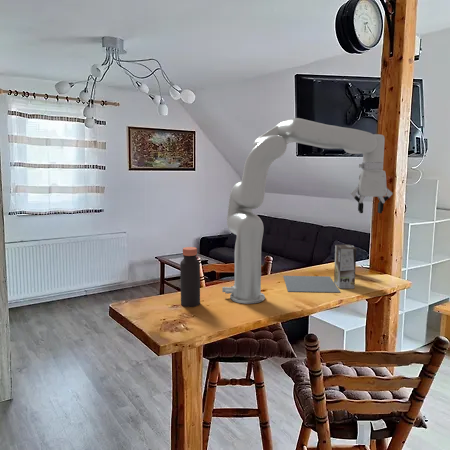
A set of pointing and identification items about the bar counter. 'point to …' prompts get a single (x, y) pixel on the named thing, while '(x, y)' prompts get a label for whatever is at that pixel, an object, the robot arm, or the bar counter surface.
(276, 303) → the bar counter surface
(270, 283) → the bar counter surface
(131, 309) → the bar counter surface
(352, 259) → the coffee box
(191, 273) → the black water bottle
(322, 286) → the mat
